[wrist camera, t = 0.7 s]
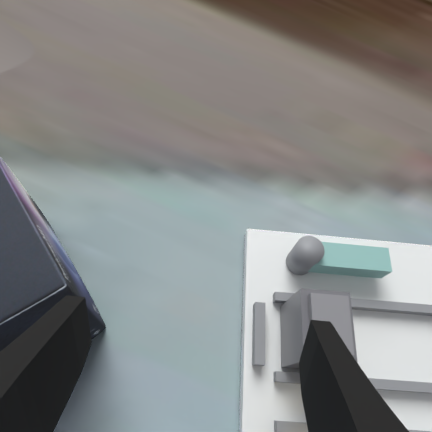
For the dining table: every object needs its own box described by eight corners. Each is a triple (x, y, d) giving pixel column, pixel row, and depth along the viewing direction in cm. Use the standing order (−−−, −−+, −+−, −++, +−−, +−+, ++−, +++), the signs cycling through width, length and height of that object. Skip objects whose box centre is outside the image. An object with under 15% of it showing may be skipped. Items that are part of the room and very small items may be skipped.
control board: (516, 616, 20) (551, 640, 18) (234, 604, 20) (239, 627, 18) (433, 252, 30) (451, 242, 28) (244, 234, 30) (249, 223, 28)
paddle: (377, 282, 27) (397, 270, 25) (286, 274, 27) (296, 261, 25) (373, 257, 28) (392, 243, 26) (285, 249, 28) (295, 234, 26)
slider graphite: (325, 371, 24) (362, 363, 19) (281, 367, 24) (306, 359, 19) (321, 310, 26) (354, 289, 21) (280, 307, 26) (303, 285, 21)
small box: (113, 326, 26) (74, 285, 16) (23, 386, 24) (-81, 377, 14) (48, 215, 29) (-15, 128, 20) (-36, 258, 27) (-151, 183, 18)
